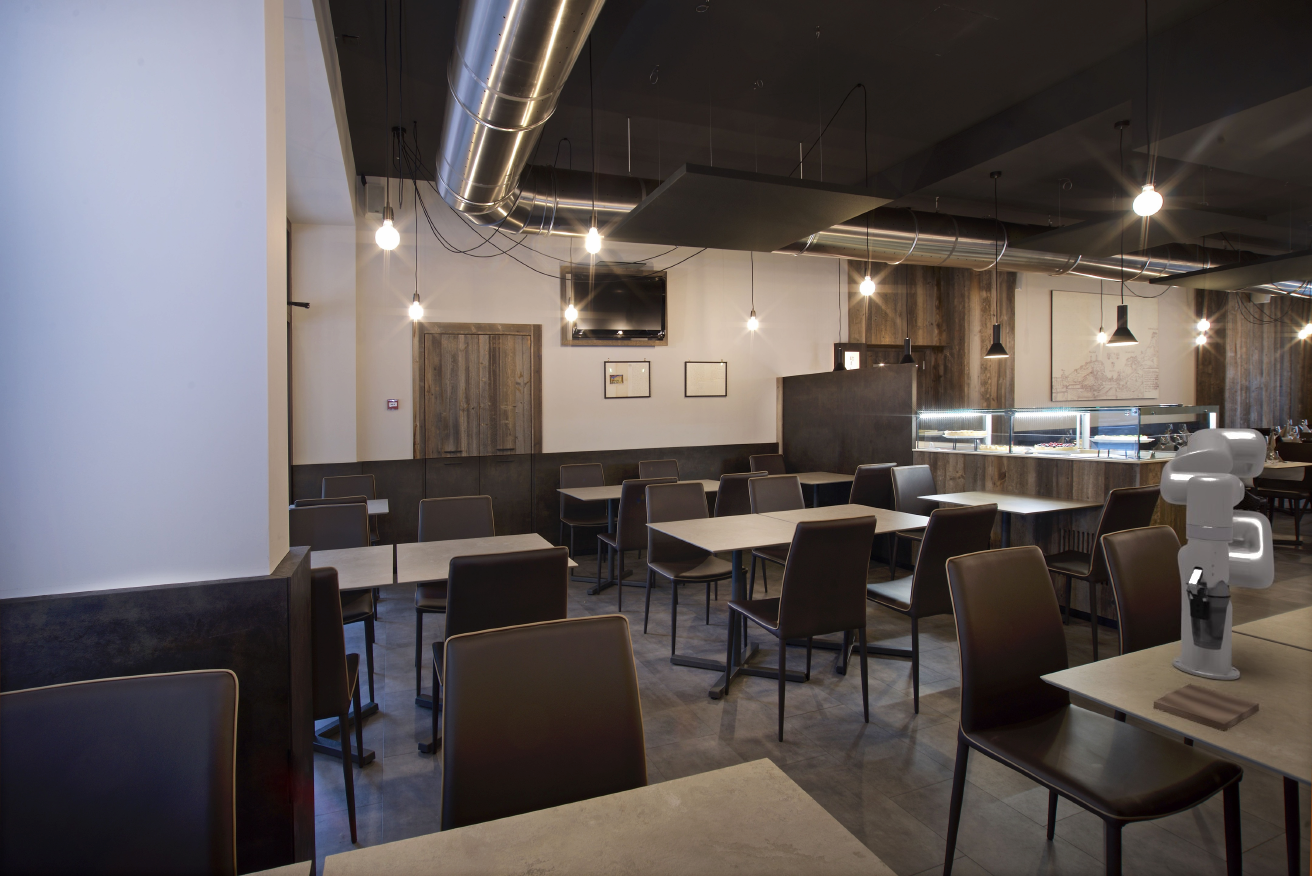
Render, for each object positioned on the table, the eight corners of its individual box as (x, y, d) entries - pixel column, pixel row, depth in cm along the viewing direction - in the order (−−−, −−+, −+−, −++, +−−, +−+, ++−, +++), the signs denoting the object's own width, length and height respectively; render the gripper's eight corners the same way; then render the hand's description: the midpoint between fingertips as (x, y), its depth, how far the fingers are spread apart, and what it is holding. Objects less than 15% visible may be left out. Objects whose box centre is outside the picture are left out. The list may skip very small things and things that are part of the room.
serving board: (1190, 689, 147) (1190, 683, 147) (1258, 710, 136) (1258, 703, 136) (1153, 708, 138) (1153, 701, 137) (1224, 731, 127) (1224, 723, 127)
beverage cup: (1238, 653, 132) (1240, 558, 132) (1198, 651, 134) (1200, 556, 133) (1215, 641, 139) (1217, 551, 139) (1177, 639, 141) (1179, 549, 140)
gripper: (1204, 527, 143) (1203, 605, 144) (1169, 534, 135) (1168, 617, 135) (1247, 532, 137) (1246, 613, 137) (1214, 540, 128) (1212, 627, 129)
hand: (1207, 615), depth 136 cm, fingers closed on beverage cup, 6 cm apart
